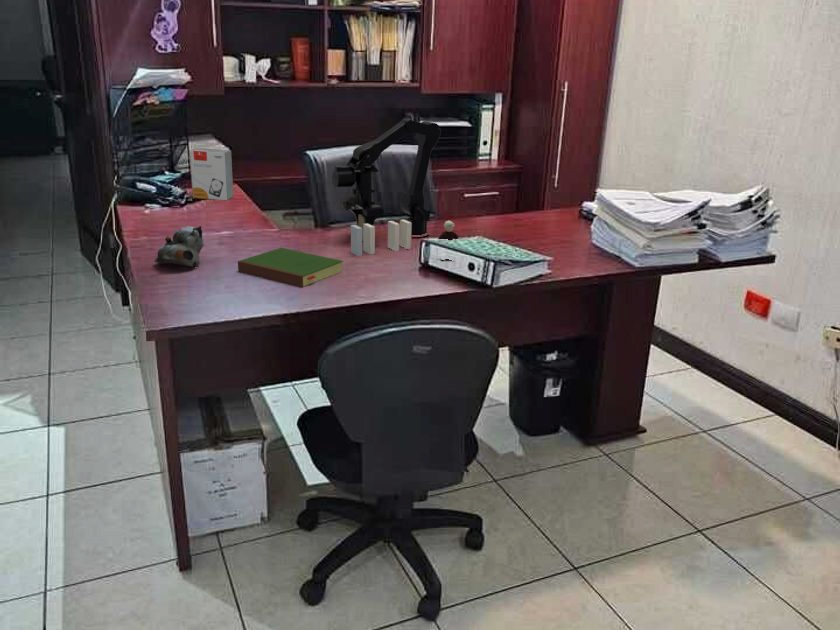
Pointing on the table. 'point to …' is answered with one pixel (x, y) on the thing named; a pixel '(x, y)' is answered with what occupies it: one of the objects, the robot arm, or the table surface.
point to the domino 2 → (361, 223)
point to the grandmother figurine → (448, 231)
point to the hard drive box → (211, 173)
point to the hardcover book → (290, 266)
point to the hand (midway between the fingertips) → (363, 231)
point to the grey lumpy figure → (182, 247)
